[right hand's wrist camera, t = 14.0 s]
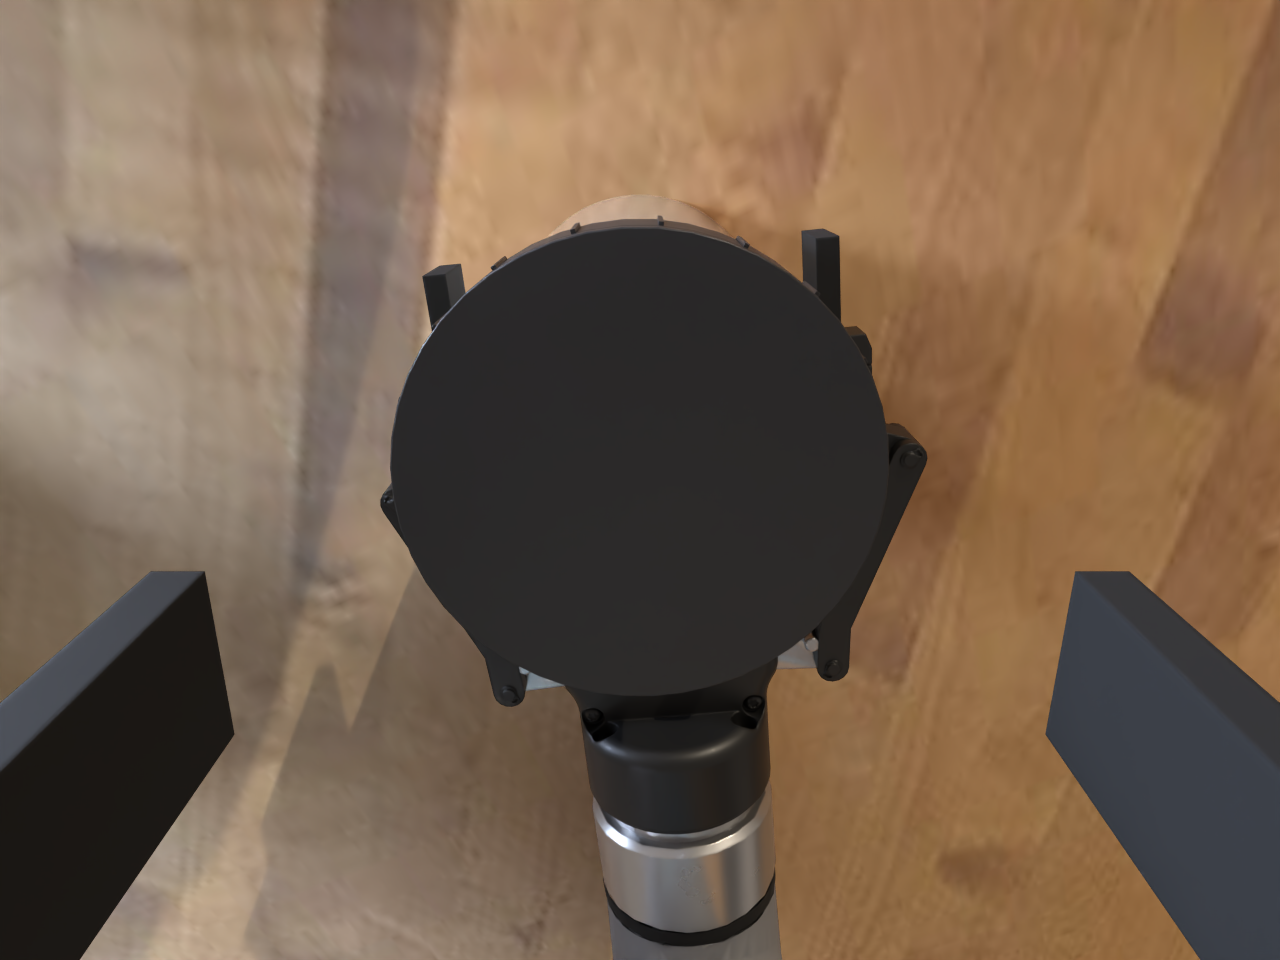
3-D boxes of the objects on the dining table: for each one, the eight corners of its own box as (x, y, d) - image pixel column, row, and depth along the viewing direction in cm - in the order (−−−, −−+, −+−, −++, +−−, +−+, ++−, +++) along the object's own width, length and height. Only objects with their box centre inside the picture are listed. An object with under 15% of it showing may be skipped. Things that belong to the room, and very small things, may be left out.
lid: (364, 580, 23) (337, 622, 21) (478, 142, 19) (459, 142, 17) (766, 699, 24) (777, 750, 22) (944, 308, 21) (977, 326, 19)
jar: (490, 395, 39) (365, 603, 21) (559, 158, 36) (479, 172, 18) (711, 466, 40) (767, 721, 22) (798, 243, 37) (945, 335, 19)
